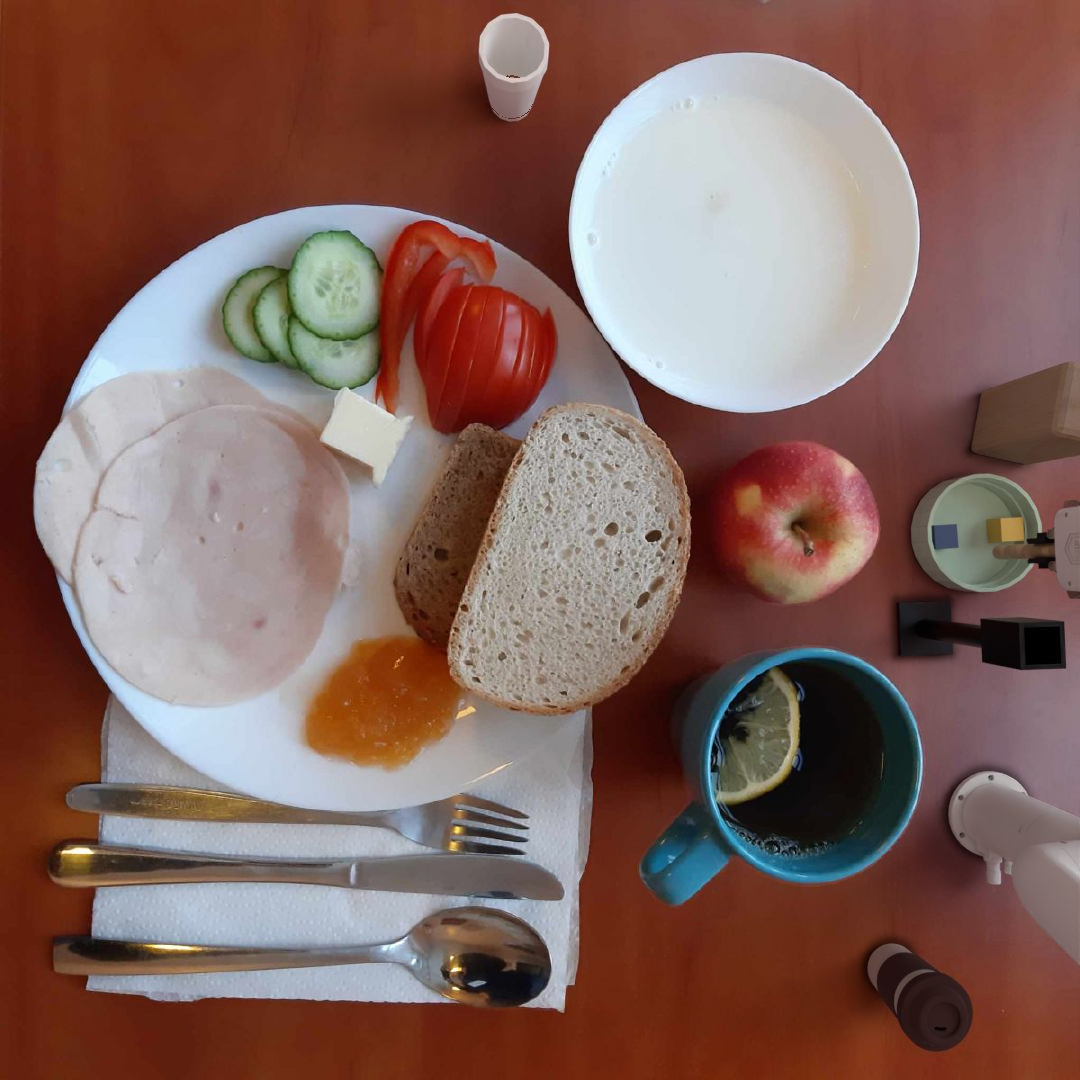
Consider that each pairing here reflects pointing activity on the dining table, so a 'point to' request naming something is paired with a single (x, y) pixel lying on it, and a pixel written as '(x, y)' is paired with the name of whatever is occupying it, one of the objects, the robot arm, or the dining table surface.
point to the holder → (981, 636)
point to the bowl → (972, 532)
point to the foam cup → (513, 63)
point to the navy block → (945, 536)
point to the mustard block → (1005, 529)
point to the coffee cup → (921, 998)
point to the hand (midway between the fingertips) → (1038, 550)
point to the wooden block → (1031, 417)
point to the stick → (1024, 551)
